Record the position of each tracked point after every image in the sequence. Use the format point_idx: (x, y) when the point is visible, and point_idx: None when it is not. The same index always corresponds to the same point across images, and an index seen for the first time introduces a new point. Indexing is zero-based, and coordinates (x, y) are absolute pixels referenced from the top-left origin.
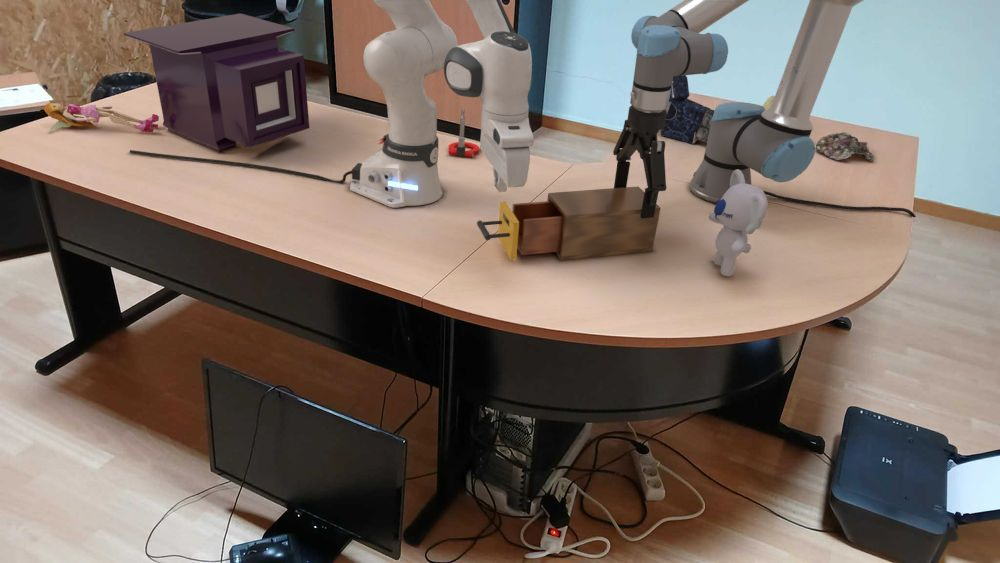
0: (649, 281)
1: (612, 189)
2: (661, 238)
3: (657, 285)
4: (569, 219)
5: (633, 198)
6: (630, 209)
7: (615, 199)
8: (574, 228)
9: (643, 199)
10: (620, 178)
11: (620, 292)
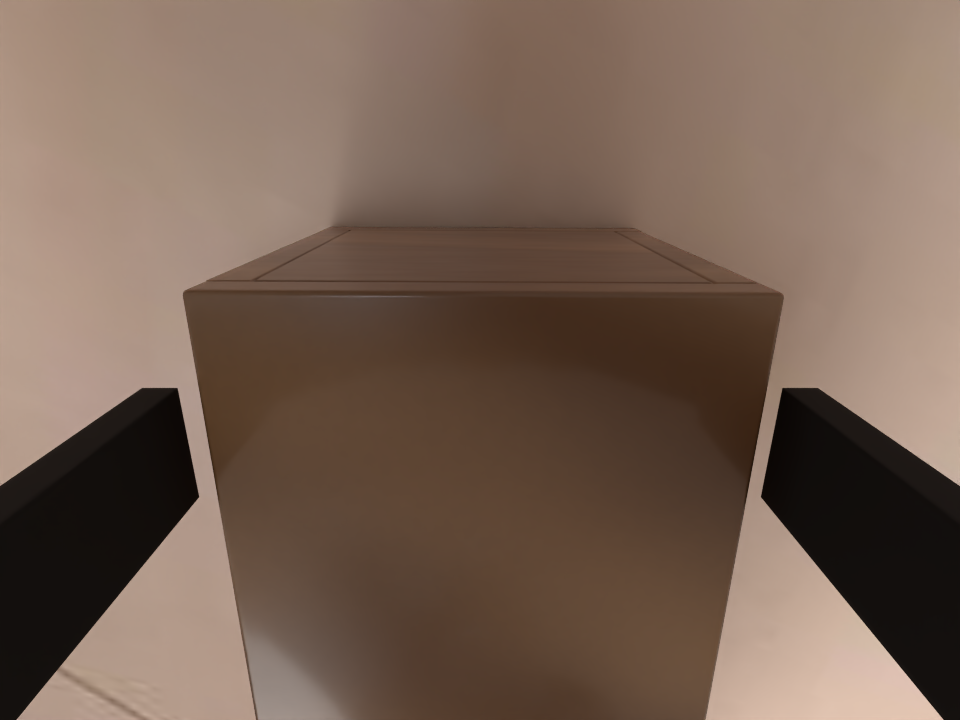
0: (905, 392)
1: (261, 588)
2: (490, 75)
3: (956, 369)
4: None
5: (493, 481)
6: (712, 601)
7: (484, 641)
8: None
9: (880, 638)
10: (113, 546)
11: None
